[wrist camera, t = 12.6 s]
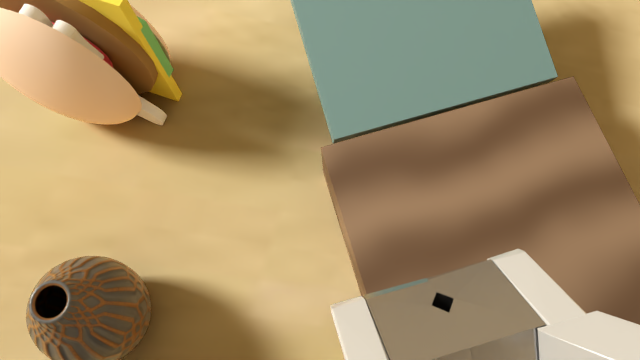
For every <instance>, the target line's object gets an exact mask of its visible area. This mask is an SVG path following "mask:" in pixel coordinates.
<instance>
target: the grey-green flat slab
mask: <svg viewBox="0 0 640 360" xmlns="http://www.w3.org/2000/svg"><path fill="white" fill-rule="evenodd" d="M291 3H292V7H293V10H294V14H295V17H296V20H297V24H298V27H299V30H300V34H301V37H302V41H303V44H304V47H305V51H306V54H307V57H308V61H309V64H310V68H311V71H312V74H313V78H314V81H315V84H316V88H317V91H318V95H319V98H320V101H321V105H322V108H323V111H324V115H325V118H326V122H327V125H328V128H329V132H330V135H331V139H332V142H333V144H334V143H337V142H341V141H344V140H348V139H351V138H355V137H358V136H362V135H365V134H369V133H373V132H376V131H380V130H383V129H387V128H390V127H394V126H397V125H401V124H405V123H408V122H412V121H415V120H419V119H422V118H426V117H429V116H433V115H437V114H440V113H444V112H447V111H451V110H454V109H458V108H461V107H465V106H468V105H472V104H476V103H479V102H483V101H486V100H490V99H493V98H497V97H500V96H504V95H508V94H511V93H515V92H518V91H522V90H525V89H529V88H532V87H536V86H539V85H543V84H547V83H549V82H550V81H552V80H553V79H555V78H556V77H558V75H557V73H556V70H555V67H554V64H553V61H552V58H551V55H550V53H549V50H548V47H547V44H546V41H545V38H544V35H543V32H542V30H541V27H540V24H539V21H538V18H537V15H536V12H535V10H534V7H533V4H532V1H531V0H291Z"/></svg>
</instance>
